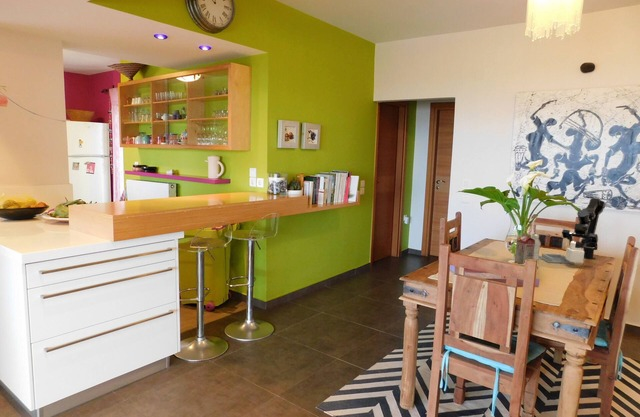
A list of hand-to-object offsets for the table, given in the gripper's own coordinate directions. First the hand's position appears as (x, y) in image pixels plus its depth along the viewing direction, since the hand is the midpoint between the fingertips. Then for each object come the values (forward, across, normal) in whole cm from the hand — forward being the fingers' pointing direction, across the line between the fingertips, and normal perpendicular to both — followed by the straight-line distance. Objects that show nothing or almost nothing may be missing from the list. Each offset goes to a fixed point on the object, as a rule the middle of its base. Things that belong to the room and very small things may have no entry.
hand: (575, 247), depth 258 cm
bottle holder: (+4, -12, +13) cm, 18 cm away
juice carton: (+34, -17, -17) cm, 42 cm away
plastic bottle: (+24, -16, -7) cm, 30 cm away
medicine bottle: (+6, 0, +6) cm, 9 cm away
